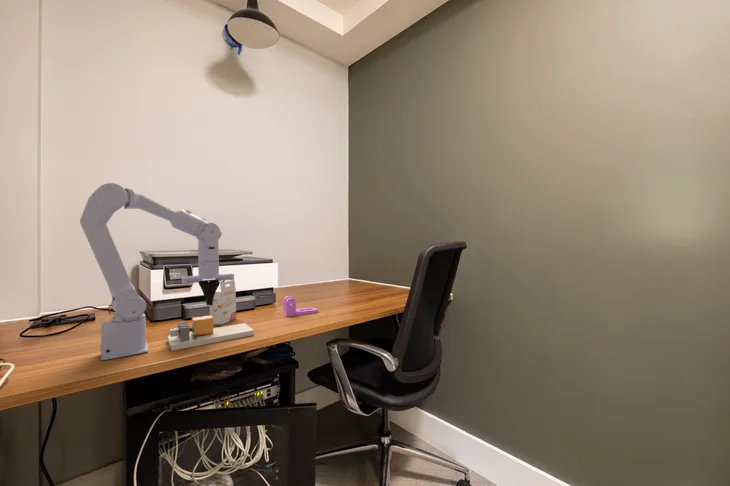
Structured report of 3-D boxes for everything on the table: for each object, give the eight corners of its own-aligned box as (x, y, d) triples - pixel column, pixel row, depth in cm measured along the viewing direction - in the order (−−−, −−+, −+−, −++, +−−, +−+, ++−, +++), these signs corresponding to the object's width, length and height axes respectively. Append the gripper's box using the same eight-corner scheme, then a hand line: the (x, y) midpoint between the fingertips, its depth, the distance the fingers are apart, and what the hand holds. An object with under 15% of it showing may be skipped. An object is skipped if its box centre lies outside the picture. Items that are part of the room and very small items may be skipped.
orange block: (194, 336, 89) (194, 320, 89) (192, 333, 92) (191, 317, 92) (213, 333, 92) (213, 317, 92) (210, 330, 95) (210, 315, 95)
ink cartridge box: (224, 317, 117) (224, 279, 117) (236, 318, 116) (236, 279, 116) (209, 324, 109) (208, 282, 108) (221, 324, 108) (221, 282, 107)
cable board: (171, 350, 83) (170, 331, 83) (167, 340, 91) (167, 322, 91) (254, 334, 96) (253, 318, 96) (244, 327, 104) (244, 311, 104)
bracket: (286, 316, 119) (286, 298, 119) (283, 313, 124) (283, 296, 124) (319, 313, 124) (319, 296, 124) (315, 310, 130) (315, 293, 129)
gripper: (183, 263, 89) (184, 310, 89) (236, 260, 98) (236, 303, 98) (180, 261, 95) (181, 306, 95) (230, 259, 103) (231, 300, 104)
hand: (209, 304), depth 97 cm, fingers closed
